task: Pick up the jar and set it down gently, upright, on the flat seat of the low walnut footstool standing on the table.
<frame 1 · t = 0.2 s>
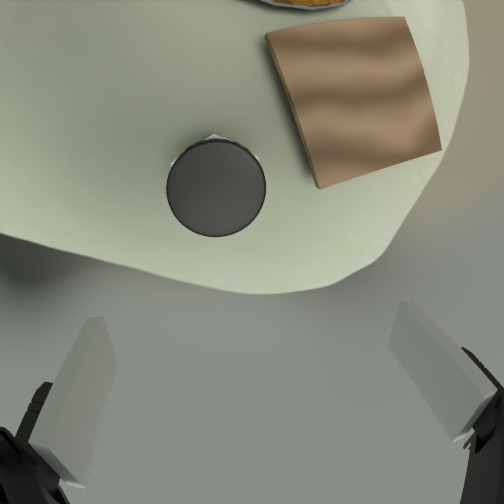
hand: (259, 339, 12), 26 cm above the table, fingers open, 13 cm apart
jar: (215, 170, 35), on the table
stool: (350, 95, 33), on the table
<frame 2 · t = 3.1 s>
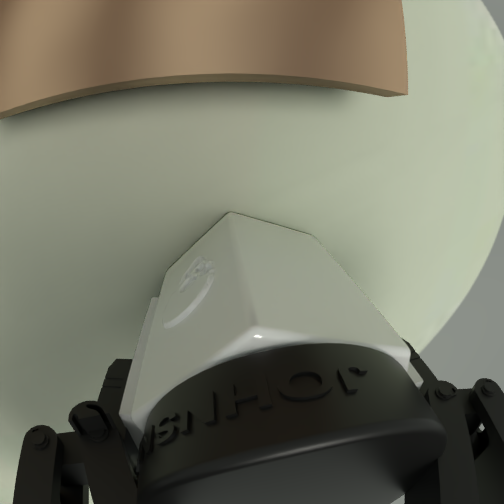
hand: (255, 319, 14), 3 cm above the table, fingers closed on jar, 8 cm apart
jar: (248, 288, 17), on the table, touching gripper
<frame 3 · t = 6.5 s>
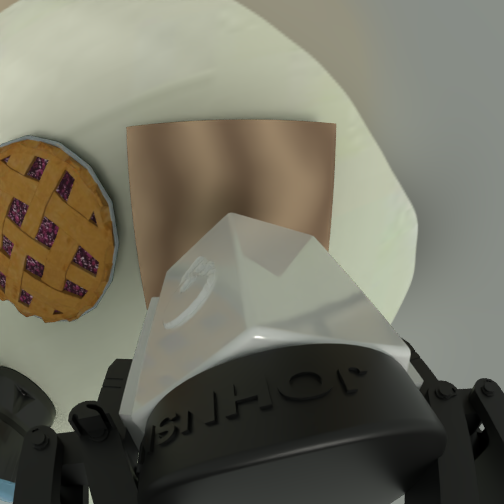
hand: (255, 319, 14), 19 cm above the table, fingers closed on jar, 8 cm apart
jar: (248, 288, 17), point 16 cm above the table, touching gripper
pie: (44, 227, 30), on the table
stool: (231, 209, 31), on the table
when the fingers open (11 cm above the table, at t = 10.3 s): jar drops 3 cm, resting on stool.
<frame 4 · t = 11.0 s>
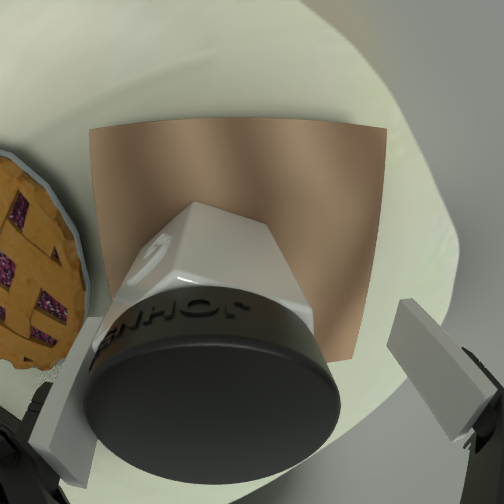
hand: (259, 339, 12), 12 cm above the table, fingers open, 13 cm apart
jar: (210, 268, 19), point 5 cm above the table, touching stool
pie: (7, 256, 22), on the table
stool: (237, 239, 24), on the table
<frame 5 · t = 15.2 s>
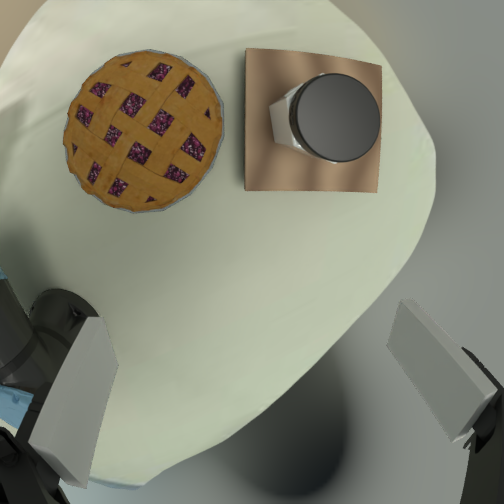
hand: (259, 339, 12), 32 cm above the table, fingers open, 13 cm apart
jar: (302, 120, 34), point 5 cm above the table, touching stool
pie: (143, 130, 37), on the table
stool: (307, 121, 39), on the table
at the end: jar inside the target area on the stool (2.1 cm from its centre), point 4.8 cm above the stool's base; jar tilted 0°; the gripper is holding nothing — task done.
